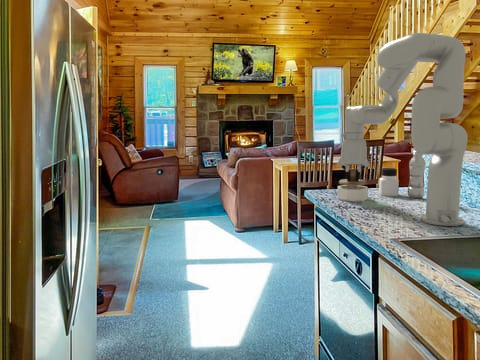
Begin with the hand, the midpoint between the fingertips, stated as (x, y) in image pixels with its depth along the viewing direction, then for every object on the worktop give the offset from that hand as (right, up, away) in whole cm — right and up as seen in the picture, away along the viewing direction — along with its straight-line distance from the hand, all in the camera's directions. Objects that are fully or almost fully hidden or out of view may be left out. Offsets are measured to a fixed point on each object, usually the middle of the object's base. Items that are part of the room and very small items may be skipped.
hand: (352, 180), depth 168 cm
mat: (+6, -10, -11) cm, 16 cm away
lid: (0, -1, 0) cm, 1 cm away
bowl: (0, -8, +1) cm, 8 cm away
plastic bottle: (+27, -8, +1) cm, 28 cm away
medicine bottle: (+18, -7, +9) cm, 22 cm away
